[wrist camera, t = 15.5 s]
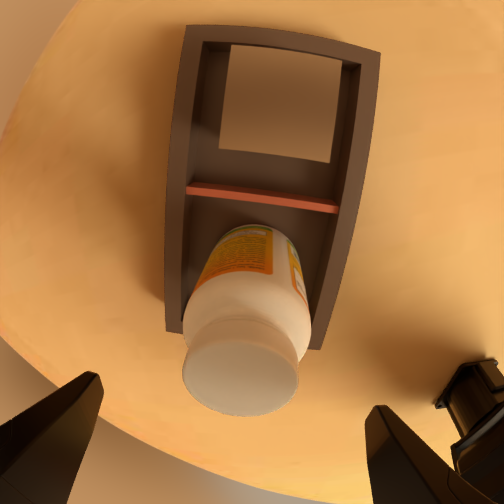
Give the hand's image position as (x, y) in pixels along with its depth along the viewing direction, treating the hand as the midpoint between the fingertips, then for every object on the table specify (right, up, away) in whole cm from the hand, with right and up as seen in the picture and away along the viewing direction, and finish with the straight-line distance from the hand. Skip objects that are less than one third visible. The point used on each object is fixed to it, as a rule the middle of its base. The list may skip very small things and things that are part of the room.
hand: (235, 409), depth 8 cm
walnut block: (+2, +12, +7) cm, 14 cm away
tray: (+1, +8, +9) cm, 12 cm away
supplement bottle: (+1, +4, +10) cm, 11 cm away
